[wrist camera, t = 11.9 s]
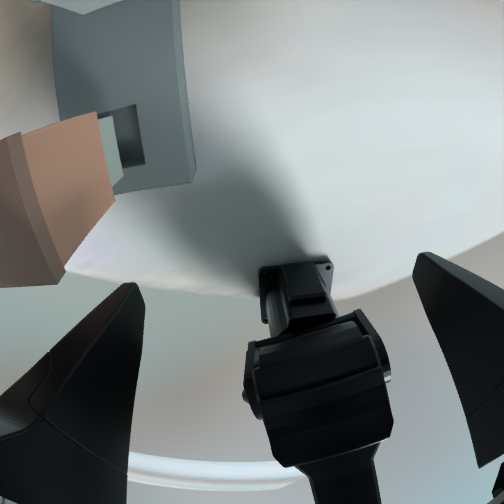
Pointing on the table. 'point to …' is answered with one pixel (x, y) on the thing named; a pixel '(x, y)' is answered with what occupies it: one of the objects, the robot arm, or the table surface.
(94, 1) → the grey plug
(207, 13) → the table surface
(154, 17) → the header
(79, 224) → the brown rectangular block
